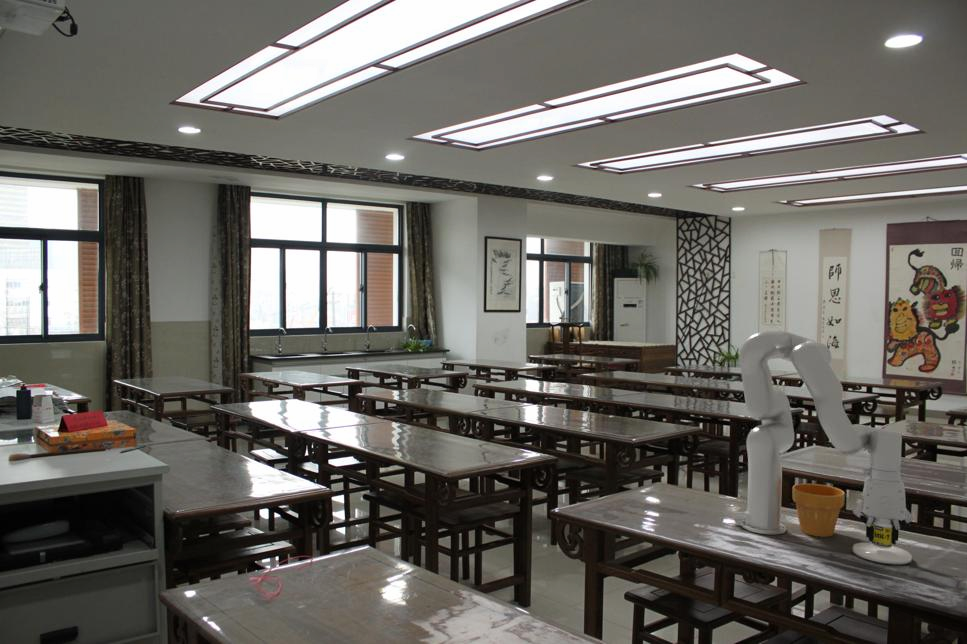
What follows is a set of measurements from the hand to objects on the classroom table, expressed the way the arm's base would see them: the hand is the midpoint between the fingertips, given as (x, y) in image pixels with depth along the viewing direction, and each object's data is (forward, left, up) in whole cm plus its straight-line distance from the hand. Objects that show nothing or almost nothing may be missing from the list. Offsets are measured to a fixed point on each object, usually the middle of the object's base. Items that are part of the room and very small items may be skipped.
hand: (881, 540), depth 196 cm
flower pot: (-15, +16, -5) cm, 22 cm away
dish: (0, 0, -4) cm, 4 cm away
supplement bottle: (0, 0, -2) cm, 2 cm away
